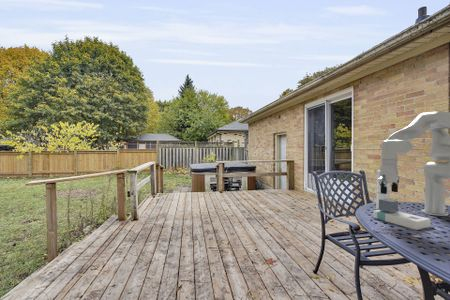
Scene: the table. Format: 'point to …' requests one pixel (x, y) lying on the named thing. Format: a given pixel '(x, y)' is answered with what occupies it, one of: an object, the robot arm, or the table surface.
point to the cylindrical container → (378, 193)
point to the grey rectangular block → (388, 205)
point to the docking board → (403, 219)
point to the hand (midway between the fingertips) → (389, 192)
